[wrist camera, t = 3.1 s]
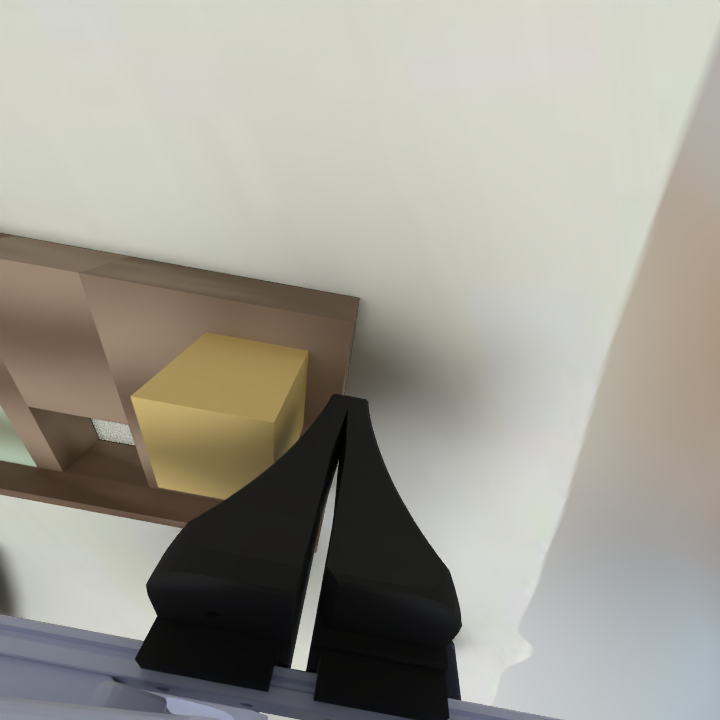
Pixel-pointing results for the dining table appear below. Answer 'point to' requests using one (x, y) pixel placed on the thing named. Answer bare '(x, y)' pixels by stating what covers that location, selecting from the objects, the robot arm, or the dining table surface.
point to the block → (222, 413)
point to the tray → (130, 365)
